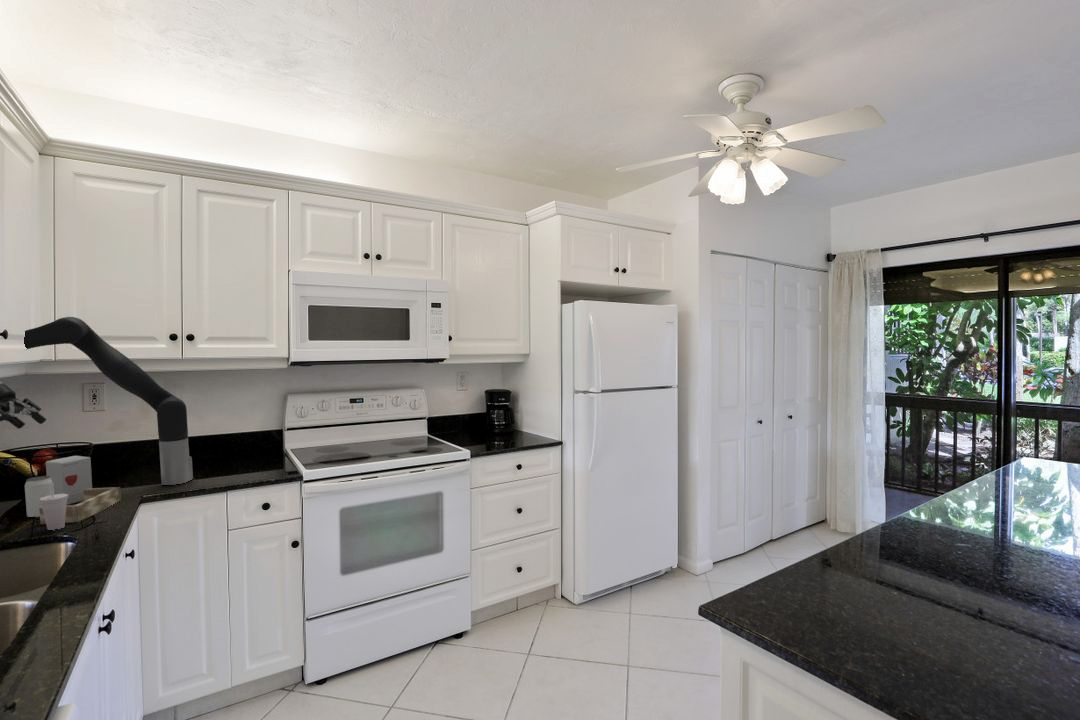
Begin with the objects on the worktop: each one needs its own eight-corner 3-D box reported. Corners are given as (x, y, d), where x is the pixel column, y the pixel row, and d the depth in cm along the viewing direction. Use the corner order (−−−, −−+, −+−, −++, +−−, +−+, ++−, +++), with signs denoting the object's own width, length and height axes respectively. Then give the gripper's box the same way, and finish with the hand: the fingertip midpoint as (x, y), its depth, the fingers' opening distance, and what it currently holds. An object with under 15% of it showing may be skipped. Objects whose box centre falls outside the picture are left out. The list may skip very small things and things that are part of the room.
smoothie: (37, 533, 151) (33, 487, 150) (47, 526, 157) (44, 481, 156) (65, 530, 153) (61, 484, 153) (74, 522, 159) (71, 478, 159)
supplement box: (63, 506, 175) (60, 463, 174) (47, 503, 178) (44, 461, 177) (94, 498, 184) (91, 456, 183) (78, 495, 187) (75, 455, 186)
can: (37, 518, 164) (34, 481, 163) (21, 517, 165) (18, 480, 164) (59, 511, 170) (57, 475, 169) (44, 510, 171) (41, 475, 171)
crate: (87, 502, 178) (86, 488, 178) (121, 501, 180) (120, 486, 179) (40, 524, 159) (39, 508, 158) (78, 522, 160) (77, 506, 160)
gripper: (-21, 385, 163) (23, 419, 165) (18, 380, 177) (58, 412, 179) (-38, 402, 162) (6, 436, 165) (2, 396, 176) (42, 428, 179)
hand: (33, 424), depth 172 cm, fingers open, 8 cm apart
